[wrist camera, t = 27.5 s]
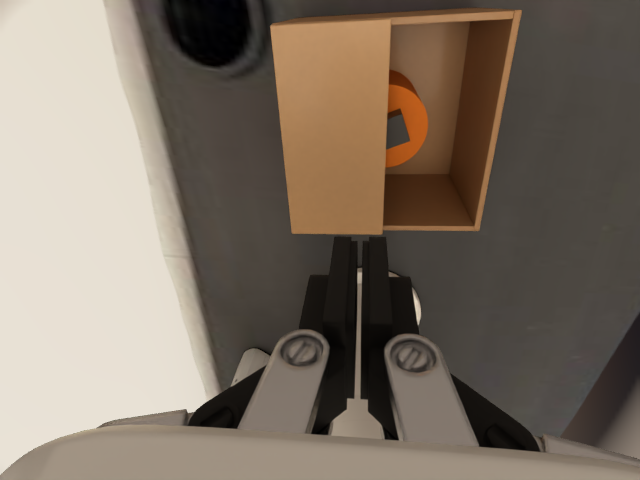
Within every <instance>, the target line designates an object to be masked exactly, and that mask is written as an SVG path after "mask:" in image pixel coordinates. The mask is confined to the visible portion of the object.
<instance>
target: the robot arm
mask: <svg viewBox="0 0 640 480" xmlns="http://www.w3.org/2000/svg"><path fill="white" fill-rule="evenodd" d="M420 318H421V306H420V301H419V298H418V296H417V293H416V292H415V290H414V289H413V287H412V284H411V279H410V277H400V276H398V275H396V274H394V273H391V272H389V271H388V257H387V244H386V237H369V241H363V251H362V268H357V241H351V237H335V238H334V244H333V251H332V258H331V265H330V272H329V275H310V278H309V282H308V287H307V291H306V296H305V301H304V305H303V310H302V315H301V320H300V324H299V329H298V330H295V331H292V332H290V333H288V334H286V335H284V336H283V337H282V338H281V339H280V340H279V341H278V343H277V344H276V346H275V348H274V350H273V353H272V355H271V357H270V359H269V361H268V363H267V365H265V366H264V367H262V368H260V369H259V370H257V371H256V372H254V373H252V374H251V375H249V376H248V377H246V378H244V379H243V380H241V381H240V382H238V383H236V384H235V385H233V386H232V387H230V388H228V389H227V390H225V391H224V392H222V393H220V394H219V395H217V396H216V397H214V398H213V399H211V400H209V401H208V402H206V403H205V404H203V405H202V406H201V407H200V408H198V409H197V410H196V411H195V412H192V413H187V410H186V409H184V410H178V411H171V412H164V413H158V414H151V415H144V416H138V417H132V418H125V419H118V420H113V421H110V422H107V423H104V424H102V425H101V426H99V427H97V428H96V429H90V430H85V431H81V432H78V433H74V434H71V435H67V436H64V437H61V438H58V439H55V440H53V441H51V442H48V443H46V444H44V445H41V446H39V447H37V448H35V449H33V450H32V451H30V452H28V453H27V454H25V455H23V456H22V457H21V458H20V459H18V460H17V461H16V462H14V463H13V464H12V465H11V466H10V467H9V468H8V469H6V470H5V471H4V472H3V473H2V474H1V475H0V480H640V460H639V459H637V458H634V457H630V456H626V455H622V454H619V453H615V452H611V451H607V450H604V449H600V448H596V447H593V446H589V445H585V444H581V443H577V442H573V441H570V440H566V439H562V438H559V437H555V436H551V435H548V434H543V436H542V438H541V437H537V436H534V435H532V434H531V433H530V432H529V431H528V430H527V429H526V428H525V427H524V426H522V425H521V424H520V423H519V422H517V421H516V420H514V419H513V418H512V417H510V416H509V415H508V414H506V413H505V412H503V411H502V410H501V409H499V408H498V407H496V406H495V405H494V404H492V403H491V402H489V401H488V400H487V399H485V398H484V397H483V396H481V395H480V394H478V393H477V392H476V391H474V390H473V389H471V388H470V387H469V386H467V385H466V384H465V383H463V382H462V381H460V380H459V379H458V378H456V377H455V376H453V375H452V374H451V373H449V370H448V368H447V365H446V363H445V360H444V358H443V355H442V353H441V351H440V349H439V348H438V346H437V345H436V344H435V343H434V342H432V341H431V340H430V339H428V338H426V337H424V336H421V335H419V330H418V325H419V322H420Z"/></svg>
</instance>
